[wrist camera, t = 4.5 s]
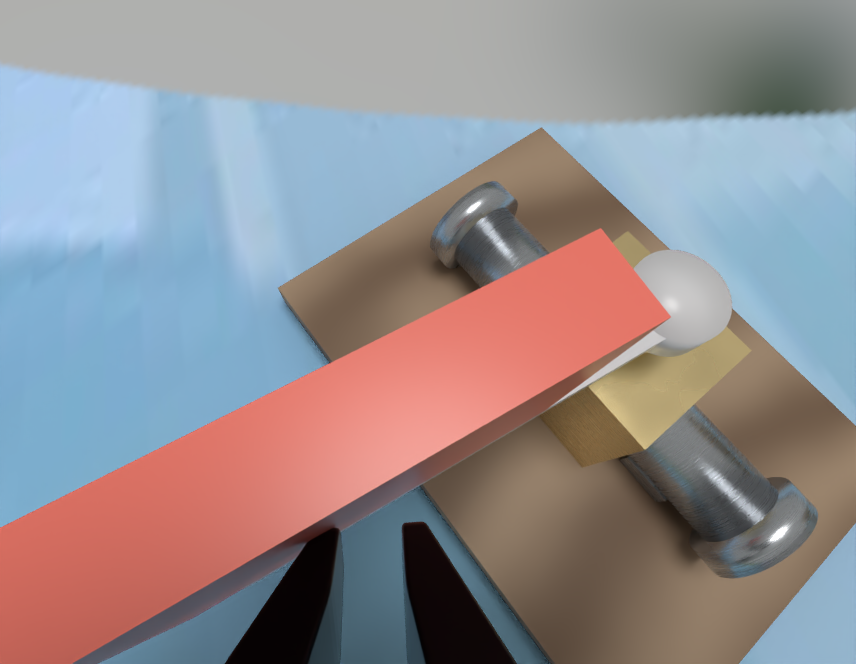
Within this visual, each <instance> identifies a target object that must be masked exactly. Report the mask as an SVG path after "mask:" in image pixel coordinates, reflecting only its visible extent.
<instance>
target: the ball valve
mask: <svg viewBox="0 0 856 664" xmlns="http://www.w3.org/2000/svg"><path fill="white" fill-rule="evenodd" d="M517 208H518V202H517V200H516V199H515V198H514V197H513V196H512V195H511V194H510V193H509V192H508V191H507V190H506V189H505V188H504V187H503V186H502V185H501V183H499V182H497V181H491V182H487V183H484V184H482V185H480V186H478V187H476V188H474V189H473V190H471V191H470V192H468V193H467V194H466V195H464V196H463V197H462V198H461V199H459V200H458V201H457V202H456V203H455V204H454V205H453V206H452V207H451V208H450V209H449V210H448V211H447V213H446V214H445V215H444V216H443V217H442V219H441V220H440V221H439V223H438V224H437V226H436V228H435V230H434V232H433V234H432V236H431V240H430V248H431V250H432V251H433V252H434V253H435V254H436V256H437V257H438V258H439V259H440V260H441V261H442V262H443V264H444V265H445V266H446V267H447V268H457V267H460V266H462V267H463V268H464V270H465V271H466V272H467V273H468V274H469V275H470V276H471V277H472V279H473V280H474V281H475V282H476V283H477V284H478V285H479V288H478V289H480V288H482V287H484V286H486V285H488V284H490V283H492V282H494V281H496V280H498V279H500V278H502V277H504V276H506V275H508V274H510V273H512V272H514V271H516V270H518V269H520V268H522V267H524V266H526V265H528V264H530V263H532V262H534V261H536V260H538V259H540V258H542V257H544V256H546V255H548V254H550V253H549V252H548V251H547V249H546V248H545V247H544V246H543V245H542V244H541V243H540V242H539V241H538V240H537V239H536V238H535V237H534V236H533V235H532V234H531V233H530V232H529V231H528V230H527V229H526V228H525V227H524V225H523V224H522V223H521V222H520V221H519V220H518V219H517V218H516V217H515V214H516V212H517ZM612 243H613V244H614V245H615V246H616V248H617V249H618V250H619V252H620V253H621V254H622V255H623V257H624V258H625V259H626V260H627V262H628V263H629V264H630V265H631V267H632V268H633V269H634V267H635V266H636V265H637V264H638V263H639V262H640V261H641V260H642V259H643V258H645V257H646V256H648V255H650V254H651V253H650V252H649V251H648V250H647V249H646V248H645V247H644V246H643V245H642V244H641V243H640V242H639V241H638V240H637V239H636V238H635V237H634V236H633V235H632V234H630V233H629V232H628V231H627V232H626V233H624V234H623V235H622V236H620V237H619V238H618V239H616V240H615V241H614V242H612ZM751 351H752V350H751V349H750V348H749V347H747V346H746V345H745V344H744V343H743V342H742V341H741V340H740V339H739V338H738V337H737V336H736V335H735V334H734V333H733V332H732V331H731V330H730V329H729V328H728V327H727V326H726V327H725V329H724V330H723V331H722V332H721V333H720V334H718V335H717V336H716V337H714V338H712V339H710V340H709V341H707V342H705V343H703V344H702V345H700V346H698V347H697V348H695V349H693V350H691V351H690V352H688V353H686V354H683V355H680V356H675V357H663V356H657V355H653V354H650V353H648V352H645V353H644V354H642V355H640V356H638V357H637V358H635V359H633V360H632V361H630V362H628V363H627V364H625V365H623V366H622V367H620V368H618V369H616V370H615V371H613V372H611V373H610V374H608V375H606V376H605V377H603V378H601V379H600V380H598V381H596V382H594V383H593V384H591V385H589V386H588V387H586V388H584V389H583V390H581V391H579V392H578V393H576V394H574V395H572V396H571V397H569V398H567V399H566V400H564V401H562V402H561V403H559V404H557V405H556V406H554V407H552V408H550V409H549V410H547V411H545V412H544V413H542V414H540V415H539V417H540V419H541V420H542V421H543V422H544V423H545V424H546V426H547V427H548V428H549V429H550V430H551V432H552V433H553V434H554V435H555V436H556V437H557V439H558V440H559V441H560V442H561V443H562V444H563V446H564V447H565V448H566V449H567V450H568V452H569V453H570V454H571V455H572V456H573V457H574V459H575V460H576V461H577V462H578V463H579V465H580V466H581V467H582V468H583V467H587V466H590V465H594V464H597V463H601V462H604V461H608V460H611V459H615V458H618V457H622V456H623V457H622V458H620V459H619V461H620V462H621V463H622V464H623V465H624V466H625V468H626V469H627V470H628V471H629V472H630V473H631V474H632V476H633V477H634V478H635V479H636V480H637V481H638V482H639V484H640V485H641V486H642V487H643V488H644V489H645V490H646V492H647V493H648V494H649V495H650V496H651V497H652V498H653V500H654V501H655V502H660V501H667V500H669V501H670V502H671V503H672V505H673V506H674V507H675V508H676V509H677V510H678V511H679V513H680V514H681V515H682V516H683V517H684V518H685V519H686V520H687V522H688V523H689V524H690V525H691V526H692V527H693V530H692V532H691V534H690V538H689V543H690V546H691V547H692V549H693V550H694V551H695V552H696V553H697V554H698V556H699V557H700V558H701V559H702V560H703V561H704V562H705V564H706V565H707V566H708V567H709V568H710V569H711V570H712V572H713V573H714V574H716V575H717V576H719V577H723V578H729V579H731V578H742V577H746V576H750V575H754V574H757V573H759V572H762V571H764V570H766V569H768V568H770V567H772V566H774V565H776V564H778V563H779V562H781V561H783V560H784V559H786V558H787V557H788V556H790V555H791V554H792V553H794V552H795V551H796V550H797V549H798V548H799V547H800V546H801V545H802V544H803V543H804V542H805V541H806V540H807V539H808V538H809V536H810V535H811V534H812V532H813V530H814V529H815V526H816V524H817V521H818V511H817V509H816V507H815V506H814V505H813V504H812V503H811V502H810V501H809V500H808V499H807V498H806V497H805V496H804V495H803V494H802V493H801V492H800V491H799V490H798V489H797V488H796V486H795V485H794V484H793V483H792V482H791V481H790V480H788V479H786V478H783V477H770V478H765V477H764V476H763V474H762V473H761V472H760V471H759V470H758V469H757V468H756V467H755V466H754V465H753V464H752V463H751V462H750V461H749V460H748V459H747V458H746V457H745V456H744V455H743V454H742V453H741V452H740V451H739V449H738V448H737V447H736V446H735V445H734V444H733V443H732V442H731V441H730V440H729V439H728V438H727V437H726V436H725V435H724V434H723V433H722V432H721V431H720V430H719V429H718V428H717V427H716V426H715V424H714V423H713V422H712V421H711V420H710V419H709V418H708V417H707V416H706V415H705V414H704V413H703V412H702V411H701V410H700V409H699V408H698V407H697V406H696V405H695V403H696V402H697V401H698V400H699V399H700V398H701V397H702V396H704V395H705V394H706V393H707V392H708V391H709V390H710V389H711V388H712V387H713V386H714V385H715V384H716V383H718V382H719V381H720V380H721V379H722V378H723V377H724V376H725V375H726V374H727V373H728V372H729V371H730V370H731V369H733V368H734V367H735V366H736V365H737V364H738V363H739V362H740V361H741V360H742V359H743V358H744V357H745V356H746V355H748V354H749V353H750V352H751Z"/></svg>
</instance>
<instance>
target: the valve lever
mask: <svg viewBox="0 0 856 664" xmlns="http://www.w3.org/2000/svg"><path fill="white" fill-rule="evenodd" d="M731 313H732V300H731V295H730V292H729V289H728V287H727V285H726V283H725V281H724V280H723V278H722V277H721V275H720V274H719V273H718V272H717V271H716V270H715V269H714V268H713V267H712V266H711V265H710V264H709V263H707V262H706V261H704V260H703V259H701V258H699V257H697V256H695V255H693V254H690V253H687V252H684V251H679V250H662V251H657V252H654V253H652V254H650V255H648V256H646V257H645V258H643V259H642V260H641V261H640V262H639V263H638V264H637V265H636V266H635V267H634V269H633V268H632V267H631V265H630V264H629V263H628V262H627V260H626V259H625V258H624V257H623V255H622V254H621V253H620V252H619V250H618V249H617V248H616V246H615V245H614V244H613V243H612V241H611V240H610V239H609V238H608V236H607V235H606V234H605V233H604V231H603V230H602V229H601V228H600V229H598V230H596V231H594V232H592V233H590V234H588V235H586V236H584V237H582V238H580V239H578V240H576V241H574V242H572V243H570V244H568V245H566V246H564V247H562V248H560V249H558V250H556V251H554V252H552V253H550V254H548V255H546V256H544V257H542V258H540V259H538V260H536V261H534V262H532V263H530V264H528V265H526V266H524V267H522V268H520V269H518V270H516V271H514V272H512V273H510V274H508V275H506V276H504V277H502V278H500V279H498V280H496V281H494V282H492V283H490V284H488V285H486V286H484V287H482V288H480V289H478V290H476V291H474V292H472V293H470V294H468V295H466V296H464V297H462V298H460V299H458V300H456V301H454V302H452V303H450V304H448V305H446V306H444V307H442V308H440V309H438V310H435V311H433V312H431V313H429V314H427V315H425V316H423V317H421V318H419V319H417V320H415V321H413V322H411V323H409V324H407V325H405V326H403V327H401V328H399V329H397V330H395V331H393V332H391V333H389V334H387V335H385V336H383V337H381V338H379V339H377V340H375V341H373V342H371V343H369V344H367V345H365V346H363V347H361V348H359V349H357V350H355V351H353V352H351V353H349V354H347V355H345V356H343V357H341V358H339V359H337V360H335V361H333V362H331V363H329V364H327V365H325V366H323V367H321V368H319V369H317V370H315V371H313V372H311V373H309V374H307V375H305V376H303V377H301V378H299V379H297V380H295V381H293V382H291V383H289V384H287V385H285V386H283V387H281V388H279V389H277V390H275V391H273V392H271V393H269V394H267V395H265V396H263V397H261V398H259V399H257V400H255V401H253V402H251V403H249V404H247V405H245V406H243V407H241V408H239V409H237V410H235V411H233V412H231V413H229V414H227V415H225V416H223V417H221V418H219V419H217V420H215V421H213V422H211V423H209V424H207V425H205V426H203V427H201V428H199V429H197V430H195V431H193V432H191V433H189V434H187V435H185V436H183V437H181V438H179V439H177V440H175V441H173V442H171V443H169V444H167V445H165V446H163V447H161V448H159V449H157V450H155V451H153V452H151V453H149V454H147V455H145V456H143V457H141V458H139V459H137V460H135V461H133V462H131V463H129V464H127V465H125V466H123V467H121V468H119V469H117V470H115V471H113V472H111V473H109V474H107V475H105V476H103V477H101V478H99V479H97V480H95V481H93V482H91V483H89V484H87V485H85V486H83V487H81V488H79V489H77V490H75V491H73V492H71V493H69V494H67V495H65V496H63V497H61V498H59V499H57V500H55V501H53V502H51V503H49V504H47V505H45V506H43V507H41V508H39V509H37V510H35V511H33V512H31V513H29V514H27V515H25V516H23V517H21V518H19V519H17V520H15V521H13V522H11V523H9V524H7V525H5V526H3V527H1V528H0V664H98V663H100V662H102V661H104V660H107V659H109V658H111V657H113V656H115V655H117V654H119V653H121V652H123V651H125V650H127V649H129V648H132V647H134V646H136V645H138V644H140V643H142V642H144V641H146V640H148V639H150V638H152V637H154V636H157V635H159V634H161V633H163V632H165V631H167V630H169V629H171V628H173V627H175V626H177V625H179V624H181V623H184V622H186V621H188V620H190V619H192V618H194V617H196V616H198V615H199V614H201V613H203V612H205V611H206V610H208V609H210V608H211V607H213V606H215V605H216V604H218V603H220V602H221V601H223V600H225V599H227V598H228V597H230V596H232V595H233V594H235V593H237V592H238V591H240V590H242V589H244V588H246V587H249V586H251V585H252V584H254V583H256V582H258V581H259V580H261V579H263V578H264V577H266V576H268V575H269V574H271V573H273V572H275V571H276V570H278V569H280V568H281V567H283V566H285V565H286V564H288V563H290V562H291V561H293V560H295V559H296V558H297V556H298V555H299V553H300V552H301V550H302V549H303V547H304V546H305V544H306V543H307V542H308V541H310V540H312V539H313V538H315V537H317V536H319V535H321V534H322V533H324V532H326V531H328V530H330V529H332V528H338V529H339V530H340V532H342V531H344V530H346V529H347V528H349V527H351V526H352V525H354V524H356V523H357V522H359V521H361V520H363V519H364V518H366V517H368V516H369V515H371V514H373V513H374V512H376V511H378V510H379V509H381V508H383V507H385V506H386V505H388V504H390V503H391V502H393V501H395V500H396V499H398V498H400V497H401V496H403V495H405V494H407V493H408V492H410V491H412V490H413V489H415V488H417V487H418V486H420V485H422V484H423V483H425V482H427V481H429V480H430V479H432V478H434V477H435V476H437V475H439V474H440V473H442V472H444V471H445V470H447V469H449V468H451V467H452V466H454V465H456V464H457V463H459V462H461V461H462V460H464V459H466V458H467V457H469V456H471V455H473V454H474V453H476V452H478V451H479V450H481V449H483V448H484V447H486V446H488V445H489V444H491V443H493V442H495V441H496V440H498V439H500V438H501V437H503V436H505V435H506V434H508V433H510V432H512V431H513V430H515V429H517V428H518V427H520V426H522V425H523V424H525V423H527V422H528V421H530V420H532V419H534V418H535V417H537V416H539V415H540V414H542V413H544V412H545V411H547V410H549V409H550V408H552V407H554V406H556V405H557V404H559V403H561V402H562V401H564V400H566V399H567V398H569V397H571V396H572V395H574V394H576V393H578V392H579V391H581V390H583V389H584V388H586V387H588V386H589V385H591V384H593V383H594V382H596V381H598V380H600V379H601V378H603V377H605V376H606V375H608V374H610V373H611V372H613V371H615V370H616V369H618V368H620V367H622V366H623V365H625V364H627V363H628V362H630V361H632V360H633V359H635V358H637V357H638V356H640V355H642V354H644V353H645V352H648V353H650V354H653V355H657V356H663V357H675V356H680V355H683V354H686V353H688V352H690V351H691V350H693V349H695V348H697V347H698V346H700V345H702V344H703V343H705V342H707V341H709V340H710V339H712V338H714V337H716V336H717V335H718V334H720V333H721V332H722V331H723V330H724V329H725V327H726V326H727V324H728V322H729V320H730V317H731Z"/></svg>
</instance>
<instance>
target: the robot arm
mask: <svg viewBox="0 0 856 664" xmlns="http://www.w3.org/2000/svg"><path fill="white" fill-rule="evenodd" d="M402 560H403V584H404V605H405V627H406V648H407V661H408V664H517V663H516V661H515V660H514V658H513V657H512V655H511V654H510V652H509V651H508V649H507V648H506V646H505V644H504V643H503V641H502V640H501V638H500V637H499V635H498V634H497V632H496V631H495V629H494V627H493V626H492V624H491V623H490V621H489V620H488V618H487V617H486V615H485V614H484V612H483V610H482V609H481V607H480V606H479V604H478V603H477V601H476V600H475V598H474V597H473V595H472V593H471V592H470V590H469V589H468V587H467V586H466V584H465V583H464V581H463V580H462V578H461V576H460V575H459V573H458V572H457V570H456V569H455V567H454V566H453V564H452V563H451V561H450V559H449V558H448V556H447V555H446V553H445V552H444V550H443V549H442V547H441V546H440V544H439V542H438V541H437V539H436V538H435V536H434V535H433V533H432V532H431V530H430V529H429V527H428V526H427V524H426V523H424V522H409V523H404V524H403V525H402ZM343 581H344V563H343V552H342V541H341V532H340V530H339V529H338V528H332V529H330V530H328V531H326V532H324V533H322V534H321V535H319V536H317V537H315V538H313V539H312V540H310V541H308V542H307V543H306V544H305V546H304V547H303V549H302V550H301V552H300V553H299V555H298V556H297V558H296V559H295V561H294V562H293V564H292V565H291V567H290V568H289V569H288V571H287V572H286V574H285V575H284V577H283V578H282V580H281V581H280V583H279V584H278V586H277V587H276V589H275V590H274V592H273V593H272V595H271V596H270V598H269V599H268V600H267V602H266V603H265V605H264V606H263V608H262V609H261V611H260V612H259V614H258V615H257V617H256V618H255V620H254V621H253V623H252V624H251V626H250V627H249V628H248V630H247V631H246V633H245V634H244V636H243V637H242V639H241V640H240V642H239V643H238V645H237V646H236V648H235V649H234V651H233V652H232V654H231V655H230V657H229V658H228V659H227V661H226V662H225V664H340V656H341V632H342V606H343Z"/></svg>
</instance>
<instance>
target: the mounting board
mask: <svg viewBox="0 0 856 664" xmlns="http://www.w3.org/2000/svg"><path fill="white" fill-rule="evenodd" d="M491 181H497V182H499V183H501V185H502V186H503V187H504V188H505V189H506V190H507V191H508V192H509V193H510V194H511V195H512V196H513V197H514V198H515V199H516V200H517V202H518V208H517V212H516V214H515V217H516V218H517V219H518V220H519V221H520V222H521V223H522V224H523V225H524V227H525V228H526V229H527V230H528V231H529V232H530V233H531V234H532V235H533V236H534V237H535V238H536V239H537V240H538V241H539V242H540V243H541V244H542V245H543V246H544V247H545V248H546V249H547V251H548V252H549V253H552V252H554V251H556V250H558V249H560V248H562V247H564V246H566V245H568V244H570V243H572V242H574V241H576V240H578V239H580V238H582V237H584V236H586V235H588V234H590V233H592V232H594V231H596V230H598V229H600V228H601V229H602V230H603V231H604V233H605V234H606V235H607V236H608V238H609V239H610V240H611V241H612V242H614V241H615V240H616V239H618V238H619V237H620V236H622V235H623V234H624V233H626V232H627V231H628V232H629V233H630V234H632V235H633V236H634V237H635V238H636V239H637V240H638V241H639V242H640V243H641V244H642V245H643V246H644V247H645V248H646V249H647V250H648V251H649V252H650V253H651V254H652V253H654V252H657V251H662V250H670V249H669V248H668V247H667V246H666V245H665V244H664V243H663V242H662V241H661V240H659V239H658V238H657V237H656V236H655V235H654V234H653V233H652V232H651V231H650V230H649V229H648V228H647V227H646V226H645V225H644V224H643V223H642V222H641V221H639V220H638V219H637V218H636V217H635V216H634V215H633V214H632V213H631V212H630V211H629V210H628V209H627V208H626V207H625V206H624V205H623V204H622V203H621V202H619V201H618V200H617V199H616V198H615V197H614V196H613V195H612V194H611V193H610V192H609V191H608V190H607V189H606V188H605V187H604V186H603V185H602V184H601V183H599V182H598V181H597V180H596V179H595V178H594V177H593V176H592V175H591V174H590V173H589V172H588V171H587V170H586V169H585V168H584V167H583V166H582V165H581V164H579V163H578V162H577V161H576V160H575V159H574V158H573V157H572V156H571V155H570V154H569V153H568V152H567V151H566V150H565V149H564V148H563V147H562V146H561V145H559V144H558V143H557V142H556V141H555V140H554V139H553V138H552V137H551V136H550V135H549V134H548V133H547V132H546V131H545V130H544V129H543V128H542V127H541V128H540V129H538V130H536V131H535V132H533V133H531V134H530V135H528V136H526V137H525V138H523V139H522V140H520V141H518V142H517V143H515V144H513V145H512V146H510V147H508V148H507V149H505V150H504V151H502V152H500V153H499V154H497V155H495V156H494V157H492V158H490V159H489V160H487V161H485V162H484V163H482V164H481V165H479V166H477V167H476V168H474V169H472V170H471V171H469V172H467V173H466V174H464V175H462V176H461V177H459V178H458V179H456V180H454V181H453V182H451V183H449V184H448V185H446V186H444V187H443V188H441V189H439V190H438V191H436V192H435V193H433V194H431V195H430V196H428V197H426V198H425V199H423V200H421V201H420V202H418V203H416V204H415V205H413V206H412V207H410V208H408V209H407V210H405V211H403V212H402V213H400V214H398V215H397V216H395V217H393V218H392V219H390V220H389V221H387V222H385V223H384V224H382V225H380V226H379V227H377V228H375V229H374V230H372V231H370V232H369V233H367V234H366V235H364V236H362V237H361V238H359V239H357V240H356V241H354V242H352V243H351V244H349V245H347V246H346V247H344V248H343V249H341V250H339V251H338V252H336V253H334V254H333V255H331V256H329V257H328V258H326V259H324V260H323V261H321V262H320V263H318V264H316V265H315V266H313V267H311V268H310V269H308V270H306V271H305V272H303V273H301V274H300V275H298V276H297V277H295V278H293V279H292V280H290V281H288V282H287V283H285V284H283V285H282V286H280V287H278V289H279V291H280V293H281V295H282V297H283V299H284V301H285V303H286V304H287V305H288V307H289V308H290V309H291V311H292V312H293V313H294V315H295V316H296V318H297V319H298V320H299V322H300V323H301V324H302V326H303V327H304V328H305V330H306V331H307V333H308V334H309V335H310V337H311V338H312V339H313V341H314V342H315V343H316V345H317V346H318V347H319V349H320V350H321V352H322V353H323V354H324V356H325V357H326V358H327V360H328V361H329V362H330V363H331V362H333V361H335V360H337V359H339V358H341V357H343V356H345V355H347V354H349V353H351V352H353V351H355V350H357V349H359V348H361V347H363V346H365V345H367V344H369V343H371V342H373V341H375V340H377V339H379V338H381V337H383V336H385V335H387V334H389V333H391V332H393V331H395V330H397V329H399V328H401V327H403V326H405V325H407V324H409V323H411V322H413V321H415V320H417V319H419V318H421V317H423V316H425V315H427V314H429V313H431V312H433V311H435V310H438V309H440V308H442V307H444V306H446V305H448V304H450V303H452V302H454V301H456V300H458V299H460V298H462V297H464V296H466V295H468V294H470V293H472V292H474V291H476V290H478V288H479V285H478V284H477V283H476V282H475V281H474V280H473V279H472V277H471V276H470V275H469V274H468V273H467V272H466V271H465V270H464V268H463V267H462V266H460V267H457V268H447V267H446V266H445V265H444V264H443V262H442V261H441V260H440V259H439V258H438V257H437V256H436V254H435V253H434V252H433V251H432V250H431V248H430V240H431V236H432V234H433V232H434V230H435V228H436V226H437V224H438V223H439V221H440V220H441V219H442V217H443V216H444V215H445V214H446V213H447V211H448V210H449V209H450V208H451V207H452V206H453V205H454V204H455V203H456V202H457V201H458V200H459V199H461V198H462V197H463V196H464V195H466V194H467V193H468V192H470V191H471V190H473V189H474V188H476V187H478V186H480V185H482V184H484V183H487V182H491ZM727 327H728V328H729V329H730V330H731V331H732V332H733V333H734V334H735V335H736V336H737V337H738V338H739V339H740V340H741V341H742V342H743V343H744V344H745V345H746V346H747V347H749V348H750V349H751V350H752V351H751V352H750V353H749V354H748V355H746V356H745V357H744V358H743V359H742V360H741V361H740V362H739V363H738V364H737V365H736V366H735V367H734V368H733V369H731V370H730V371H729V372H728V373H727V374H726V375H725V376H724V377H723V378H722V379H721V380H720V381H719V382H718V383H716V384H715V385H714V386H713V387H712V388H711V389H710V390H709V391H708V392H707V393H706V394H705V395H704V396H702V397H701V398H700V399H699V400H698V401H697V402H696V403H695V405H696V406H697V407H698V408H699V409H700V410H701V411H702V412H703V413H704V414H705V415H706V416H707V417H708V418H709V419H710V420H711V421H712V422H713V423H714V424H715V426H716V427H717V428H718V429H719V430H720V431H721V432H722V433H723V434H724V435H725V436H726V437H727V438H728V439H729V440H730V441H731V442H732V443H733V444H734V445H735V446H736V447H737V448H738V449H739V451H740V452H741V453H742V454H743V455H744V456H745V457H746V458H747V459H748V460H749V461H750V462H751V463H752V464H753V465H754V466H755V467H756V468H757V469H758V470H759V471H760V472H761V473H762V474H763V476H764V477H765V478H770V477H783V478H786V479H788V480H790V481H791V482H792V483H793V484H794V485H795V486H796V488H797V489H798V490H799V491H800V492H801V493H802V494H803V495H804V496H805V497H806V498H807V499H808V500H809V501H810V502H811V503H812V504H813V505H814V506H815V507H816V509H817V511H818V521H817V524H816V526H815V529H814V530H813V532H812V534H811V535H810V536H809V538H808V539H807V540H806V541H805V542H804V543H803V544H802V545H801V546H800V547H799V548H798V549H797V550H796V551H795V552H794V553H792V554H791V555H790V556H788V557H787V558H786V559H784V560H783V561H781V562H779V563H778V564H776V565H774V566H772V567H770V568H768V569H766V570H764V571H762V572H759V573H757V574H754V575H750V576H746V577H742V578H731V579H729V578H723V577H719V576H717V575H716V574H714V573H713V572H712V570H711V569H710V568H709V567H708V566H707V565H706V564H705V562H704V561H703V560H702V559H701V558H700V557H699V556H698V554H697V553H696V552H695V551H694V550H693V549H692V547H691V546H690V543H689V538H690V534H691V532H692V530H693V527H692V526H691V525H690V524H689V523H688V522H687V520H686V519H685V518H684V517H683V516H682V515H681V514H680V513H679V511H678V510H677V509H676V508H675V507H674V506H673V505H672V503H671V502H670V501H669V500H667V501H660V502H655V501H654V500H653V498H652V497H651V496H650V495H649V494H648V493H647V492H646V490H645V489H644V488H643V487H642V486H641V485H640V484H639V482H638V481H637V480H636V479H635V478H634V477H633V476H632V474H631V473H630V472H629V471H628V470H627V469H626V468H625V466H624V465H623V464H622V463H621V462H620V461H619V459H620V458H622V457H623V456H622V457H618V458H615V459H611V460H608V461H604V462H601V463H597V464H594V465H590V466H587V467H583V468H582V467H581V466H580V465H579V463H578V462H577V461H576V460H575V459H574V457H573V456H572V455H571V454H570V453H569V452H568V450H567V449H566V448H565V447H564V446H563V444H562V443H561V442H560V441H559V440H558V439H557V437H556V436H555V435H554V434H553V433H552V432H551V430H550V429H549V428H548V427H547V426H546V424H545V423H544V422H543V421H542V420H541V419H540V417H539V416H537V417H535V418H534V419H532V420H530V421H528V422H527V423H525V424H523V425H522V426H520V427H518V428H517V429H515V430H513V431H512V432H510V433H508V434H506V435H505V436H503V437H501V438H500V439H498V440H496V441H495V442H493V443H491V444H489V445H488V446H486V447H484V448H483V449H481V450H479V451H478V452H476V453H474V454H473V455H471V456H469V457H467V458H466V459H464V460H462V461H461V462H459V463H457V464H456V465H454V466H452V467H451V468H449V469H447V470H445V471H444V472H442V473H440V474H439V475H437V476H435V477H434V478H432V479H430V480H429V481H427V482H425V483H423V484H422V485H420V486H421V488H422V489H423V490H424V492H425V493H426V495H427V496H428V497H429V499H430V500H431V501H432V503H433V504H434V505H435V507H436V508H437V509H438V511H439V512H440V514H441V515H442V516H443V518H444V519H445V520H446V522H447V523H448V524H449V526H450V527H451V529H452V530H453V531H454V533H455V534H456V535H457V537H458V538H459V539H460V541H461V542H462V544H463V545H464V546H465V548H466V549H467V550H468V552H469V553H470V554H471V556H472V557H473V558H474V560H475V561H476V563H477V564H478V565H479V567H480V568H481V569H482V571H483V572H484V573H485V575H486V576H487V578H488V579H489V580H490V582H491V583H492V584H493V586H494V587H495V588H496V590H497V591H498V593H499V594H500V595H501V597H502V598H503V599H504V601H505V602H506V603H507V605H508V606H509V608H510V609H511V610H512V612H513V613H514V614H515V616H516V617H517V618H518V620H519V621H520V622H521V624H522V625H523V627H524V628H525V629H526V631H527V632H528V633H529V635H530V636H531V637H532V639H533V640H534V642H535V643H536V644H537V646H538V647H539V648H540V650H541V651H542V652H543V654H544V655H545V657H546V658H547V659H548V661H549V662H550V663H551V664H739V663H740V661H741V660H742V659H743V658H744V657H745V655H746V654H747V653H748V652H749V651H750V649H751V648H752V647H753V646H754V645H755V643H756V642H757V641H758V640H759V639H760V637H761V636H762V635H763V634H764V633H765V631H766V630H767V629H768V628H769V627H770V625H771V624H772V623H773V622H774V621H775V619H776V618H777V617H778V616H779V614H780V613H781V612H782V611H783V610H784V608H785V607H786V606H787V605H788V604H789V602H790V601H791V600H792V599H793V598H794V596H795V595H796V594H797V593H798V592H799V590H800V589H801V588H802V587H803V586H804V584H805V583H806V582H807V581H808V580H809V578H810V577H811V576H812V575H813V574H814V572H815V571H816V570H817V569H818V568H819V566H820V565H821V564H822V563H823V561H824V560H825V559H826V558H827V557H828V555H829V554H830V553H831V552H832V551H833V549H834V548H835V547H836V546H837V545H838V543H839V542H840V541H841V540H842V539H843V537H844V536H845V535H846V534H847V533H848V531H849V530H850V529H851V528H852V527H853V525H854V524H855V523H856V426H855V425H854V424H853V423H852V422H851V421H850V420H849V419H848V418H847V417H846V416H845V415H844V414H843V413H842V412H841V411H839V410H838V409H837V408H836V407H835V406H834V405H833V404H832V403H831V402H830V401H829V400H828V399H827V398H826V397H825V396H824V395H823V394H822V393H821V392H819V391H818V390H817V389H816V388H815V387H814V386H813V385H812V384H811V383H810V382H809V381H808V380H807V379H806V378H805V377H804V376H803V375H802V374H801V373H799V372H798V371H797V370H796V369H795V368H794V367H793V366H792V365H791V364H790V363H789V362H788V361H787V360H786V359H785V358H784V357H783V356H782V355H781V354H779V353H778V352H777V351H776V350H775V349H774V348H773V347H772V346H771V345H770V344H769V343H768V342H767V341H766V340H765V339H764V338H763V337H762V336H761V335H759V334H758V333H757V332H756V331H755V330H754V329H753V328H752V327H751V326H750V325H749V324H748V323H747V322H746V321H745V320H744V319H743V318H742V317H741V316H739V315H738V314H737V313H736V312H735V311H734V310H733V309H732V313H731V317H730V320H729V322H728V324H727Z"/></svg>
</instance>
